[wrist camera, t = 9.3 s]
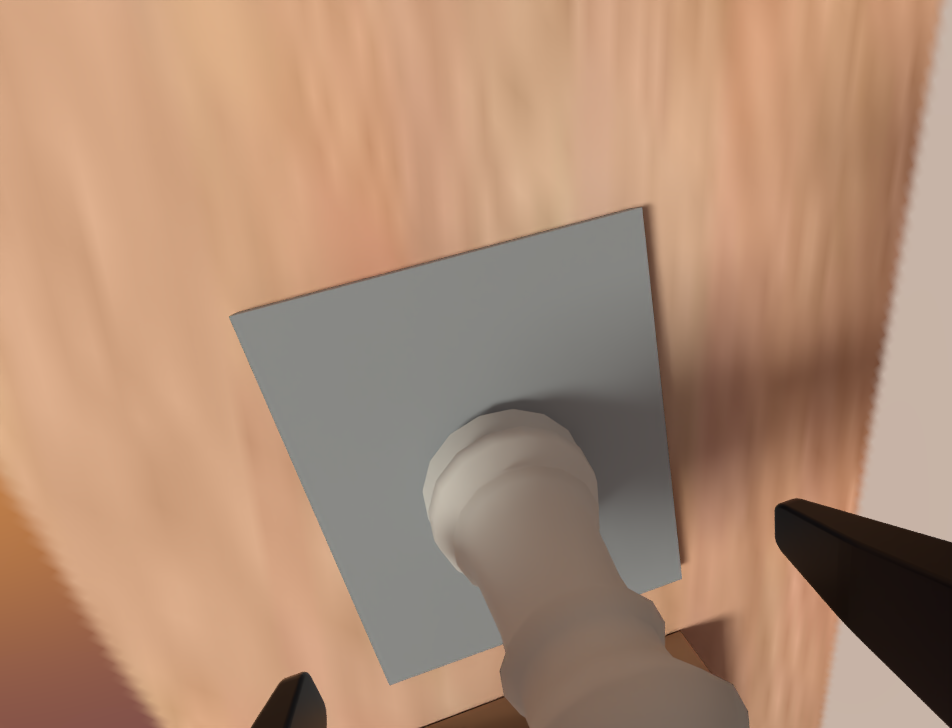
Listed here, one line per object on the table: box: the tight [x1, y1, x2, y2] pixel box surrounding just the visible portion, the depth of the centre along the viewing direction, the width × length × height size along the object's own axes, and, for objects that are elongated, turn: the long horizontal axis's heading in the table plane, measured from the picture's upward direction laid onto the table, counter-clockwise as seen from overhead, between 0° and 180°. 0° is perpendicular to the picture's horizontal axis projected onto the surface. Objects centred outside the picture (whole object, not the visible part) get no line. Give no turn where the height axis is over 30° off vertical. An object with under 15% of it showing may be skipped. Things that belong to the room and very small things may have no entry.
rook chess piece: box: [423, 409, 749, 728], centre depth 8 cm, size 4×4×8 cm
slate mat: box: [229, 207, 682, 685], centre depth 12 cm, size 12×10×1 cm
